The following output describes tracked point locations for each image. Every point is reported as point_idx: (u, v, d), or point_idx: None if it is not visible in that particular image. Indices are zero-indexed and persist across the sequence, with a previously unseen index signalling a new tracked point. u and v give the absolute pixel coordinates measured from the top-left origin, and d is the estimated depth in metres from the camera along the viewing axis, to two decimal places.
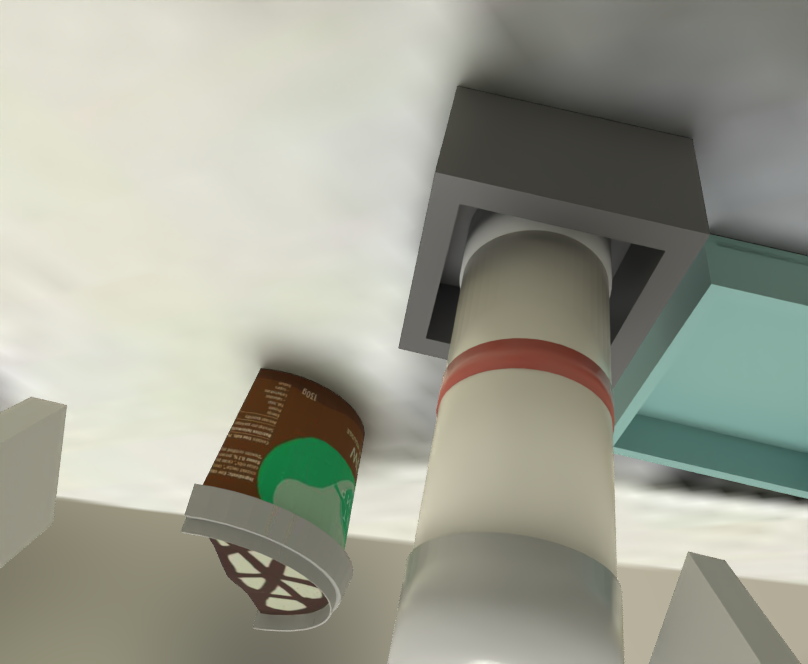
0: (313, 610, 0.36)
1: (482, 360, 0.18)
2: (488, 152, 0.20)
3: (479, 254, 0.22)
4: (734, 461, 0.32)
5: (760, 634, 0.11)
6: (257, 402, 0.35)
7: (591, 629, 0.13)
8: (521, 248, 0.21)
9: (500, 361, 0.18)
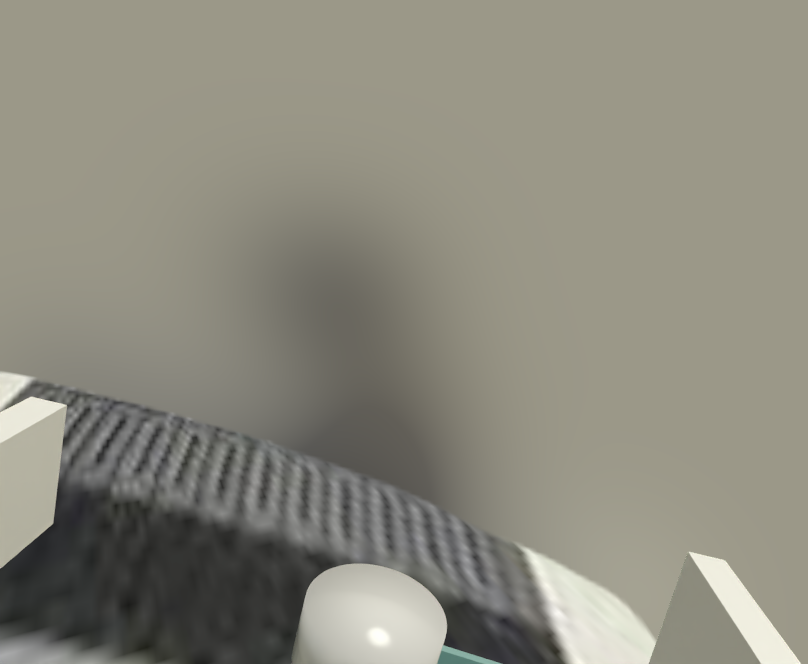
0: None
1: None
2: None
3: None
4: None
5: (760, 634, 0.11)
6: None
7: None
8: None
9: None
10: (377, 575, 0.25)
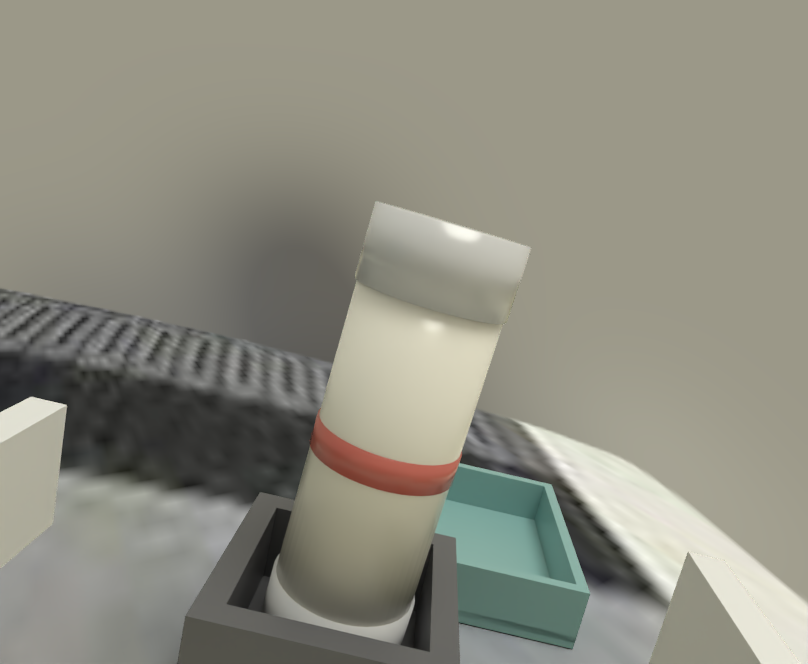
0: None
1: (328, 444, 0.21)
2: None
3: (304, 596, 0.21)
4: (552, 534, 0.36)
5: (760, 634, 0.11)
6: None
7: None
8: (284, 555, 0.22)
9: (322, 432, 0.21)
10: None
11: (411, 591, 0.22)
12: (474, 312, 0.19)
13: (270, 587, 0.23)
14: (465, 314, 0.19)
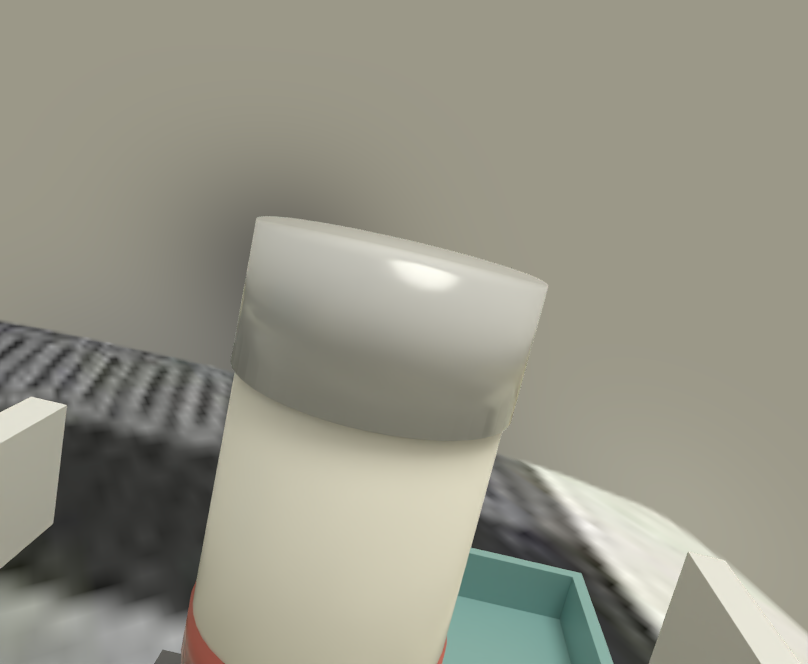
0: None
1: None
2: None
3: None
4: (587, 654, 0.27)
5: (760, 634, 0.11)
6: None
7: None
8: None
9: (193, 637, 0.12)
10: (390, 238, 0.13)
11: None
12: (448, 425, 0.10)
13: None
14: (431, 431, 0.10)
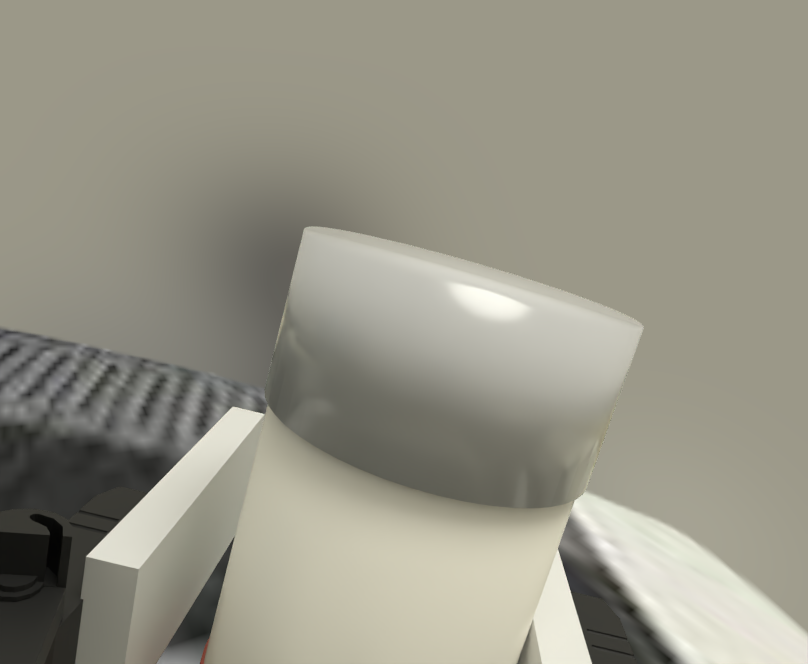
0: None
1: None
2: None
3: None
4: None
5: None
6: None
7: None
8: None
9: None
10: (444, 256, 0.12)
11: None
12: (532, 490, 0.08)
13: None
14: (512, 496, 0.08)
